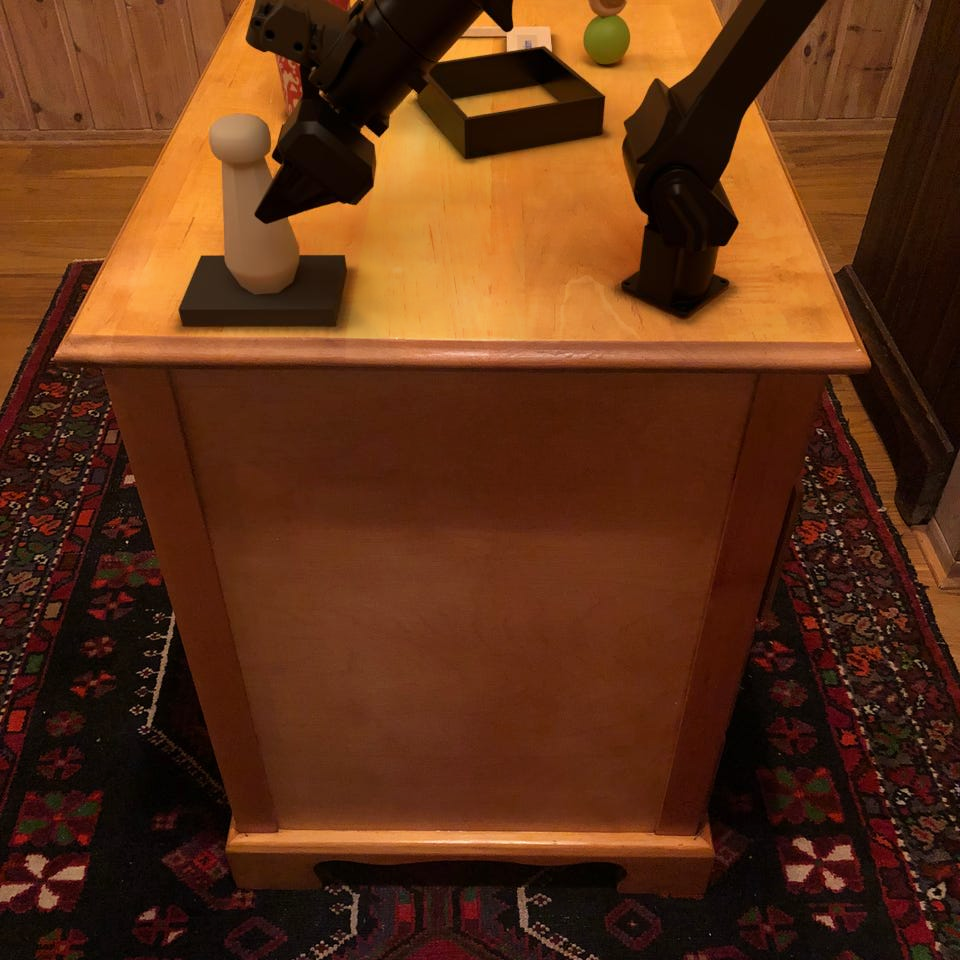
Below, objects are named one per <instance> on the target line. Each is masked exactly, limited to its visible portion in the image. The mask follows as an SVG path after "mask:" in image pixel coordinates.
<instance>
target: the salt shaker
mask: <svg viewBox="0 0 960 960" xmlns="http://www.w3.org/2000/svg"><path fill="white" fill-rule="evenodd" d="M271 136H272V135H271V130H270V128H269V126H268V123H266V121H264V120H263V119H262V118H261V117H259V116H258V115H254V114H251V113H235V114H228V115H224V116H222V117H219V118H217V119H216V120H215V121H214V122H213V123H212V124H211V126H210V127H209V131H208V144H209V147H210V151H211V153H212V155H213V156H214V157H215V158H216V159H217V160H218V161H221V182H222V183H221V184H222V185H221V187H222V219H223V250H224V251H223V252H224V253H223V255H224V256H225V263H226V266H227V268H228V269H229V270H230V272H231V273H232V274H233V276H234V277H235V278H236V280H237V281H238V283H239V284H240V285H241V286H242V287H243V288H245V289H247V290H248V291H250V292H251V293H253V294H254V295H257V294H270V293H279V292H280V291H281V290H283V289H284V288H285V287H287V286H288V285H289V284H291V283H292V282H293V280H294V277H295V273H296V270H297V267H298V264H299V255H300V246H299V242H298V240H297V237H296V235H295V233H294V230H293V228H292V227H293V226H292V224H291V222H290V220H289V217H287V218H284V219H281V220H278V221H275V222H272V223H269V224H264V223H263V222H261V221H260V220H259V219H257V218H256V217H255V215H254V213H255V211H256V209H257V207H258V205H259V203H260V201H261V200H262V198H263V196H264V194H265V192H266V191H267V189H268V187H269V185H270V184H271V182H272V180H273V178H274V177H273V175H272V173H271V170H270V168H269V165H268V162H267V160H266V156H267V155H269V153H271V148H272V137H271Z"/></svg>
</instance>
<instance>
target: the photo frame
mask: <svg viewBox="0 0 960 960" xmlns="http://www.w3.org/2000/svg"><path fill="white" fill-rule="evenodd" d="M461 37H506V52H508V51H515V50H521V49H528V48H535V47H541V46H545V47H546V48H547V49H549V50H550V51H551V52H552V53H553V48H552V38H551V37H552V36H551V28H550V26H513V29H512V31H510V32H504V31H503V30H502V29H501V28H500V27H499V26H470V27H469V28H468V29H467V30H466V32H465V33H464V34H463V35H462V36H461Z"/></svg>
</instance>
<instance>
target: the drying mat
mask: <svg viewBox="0 0 960 960" xmlns="http://www.w3.org/2000/svg"><path fill="white" fill-rule="evenodd" d="M347 273H348V267H347V258H346V255H345V254H299V264H298V267H297V270H296V273H295V277H294V280H293V282H292V283H291V284H289V285H288V286H287V287H285V288H284V289H283V290H281V291H280V292H279V293H270V294H257V295H254V294H253V293H251V292H250V291H248V290H247V289H245V288H243V287H242V286H241V285H240V284H239V283H238V281H237V280H236V278H235V277H234V276H233V274H232V273H231V272H230V270H229V269H228V268H227V266H226V263H225V256H224V254H223V255H221V254H219V255H217V254H216V255H213V254H212V255H211V254H209V255H207V254H206V255H205V254H204V255H200V257H199V259H198V262H197V263H196V267H195V269H194V271H193V273H192V276H191V278H190V281H189V283H188V285H187V288H186V290H185V292H184V294H183V297H182V300H181V302H180V305H179V306H178V315H179V318H180V322H181V325H182V327H336V326H337V323H338V318H339V313H340V308H341V303H342V299H343V293H344V289H345V283H346V279H347Z"/></svg>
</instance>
